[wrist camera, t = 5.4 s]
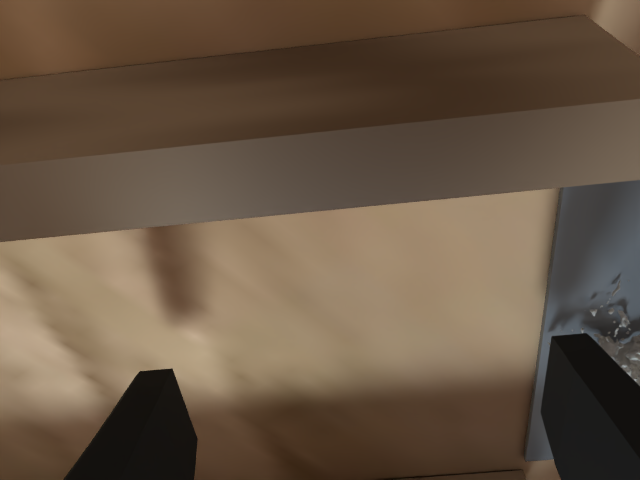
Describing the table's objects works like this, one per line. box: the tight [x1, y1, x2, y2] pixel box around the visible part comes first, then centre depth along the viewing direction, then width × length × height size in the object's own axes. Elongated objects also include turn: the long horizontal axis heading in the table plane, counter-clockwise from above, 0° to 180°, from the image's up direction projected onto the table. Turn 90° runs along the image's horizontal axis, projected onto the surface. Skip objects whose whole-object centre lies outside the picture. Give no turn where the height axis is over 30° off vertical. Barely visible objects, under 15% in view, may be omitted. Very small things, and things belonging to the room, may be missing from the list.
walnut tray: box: [0, 15, 640, 480], centre depth 12 cm, size 21×12×3 cm, turn 96°
